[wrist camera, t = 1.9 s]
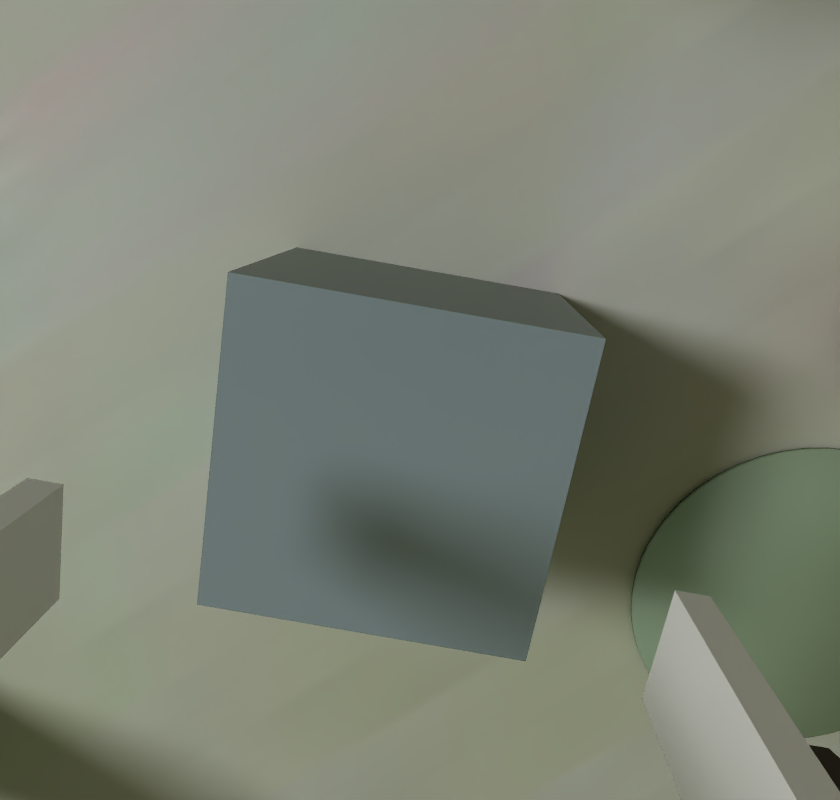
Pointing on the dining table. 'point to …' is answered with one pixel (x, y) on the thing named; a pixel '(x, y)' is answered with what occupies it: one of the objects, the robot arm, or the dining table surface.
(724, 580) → the green flat disc
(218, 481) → the slate square block
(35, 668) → the dining table surface
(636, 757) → the dining table surface
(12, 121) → the dining table surface
